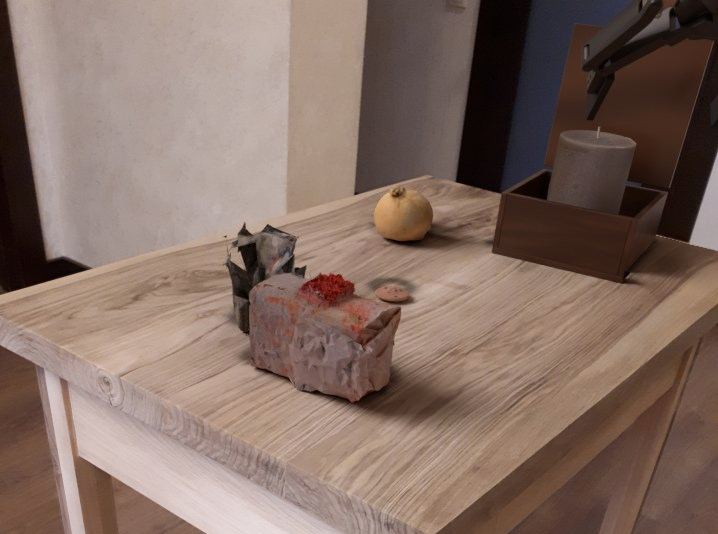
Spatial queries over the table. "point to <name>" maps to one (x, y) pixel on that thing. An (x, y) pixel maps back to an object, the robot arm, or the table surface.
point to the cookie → (392, 293)
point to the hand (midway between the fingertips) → (651, 112)
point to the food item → (322, 334)
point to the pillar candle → (591, 170)
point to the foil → (259, 265)
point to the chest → (576, 229)
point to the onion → (403, 215)
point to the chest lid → (636, 104)
